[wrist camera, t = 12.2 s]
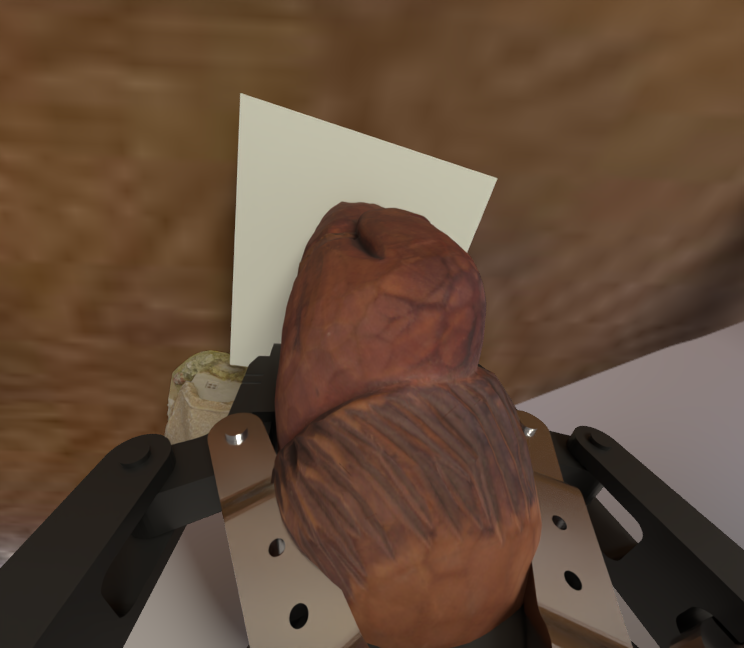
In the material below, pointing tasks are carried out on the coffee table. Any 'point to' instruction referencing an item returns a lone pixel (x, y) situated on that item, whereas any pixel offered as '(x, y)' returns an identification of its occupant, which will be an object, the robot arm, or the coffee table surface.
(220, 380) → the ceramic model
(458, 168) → the cream white square block
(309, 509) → the wooden figurine
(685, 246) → the coffee table surface
